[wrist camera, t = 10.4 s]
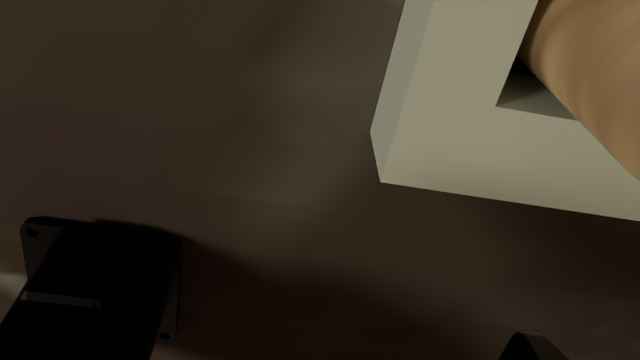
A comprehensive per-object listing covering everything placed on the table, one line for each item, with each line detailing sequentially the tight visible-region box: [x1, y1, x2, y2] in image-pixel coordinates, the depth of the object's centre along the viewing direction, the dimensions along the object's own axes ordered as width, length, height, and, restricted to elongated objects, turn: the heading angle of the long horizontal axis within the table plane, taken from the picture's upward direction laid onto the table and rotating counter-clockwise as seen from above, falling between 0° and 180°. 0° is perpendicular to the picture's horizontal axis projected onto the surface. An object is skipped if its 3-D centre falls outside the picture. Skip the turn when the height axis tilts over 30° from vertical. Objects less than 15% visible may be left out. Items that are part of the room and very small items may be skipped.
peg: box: [516, 0, 640, 181], centre depth 14 cm, size 4×4×8 cm
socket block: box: [370, 0, 640, 221], centre depth 16 cm, size 11×10×4 cm
